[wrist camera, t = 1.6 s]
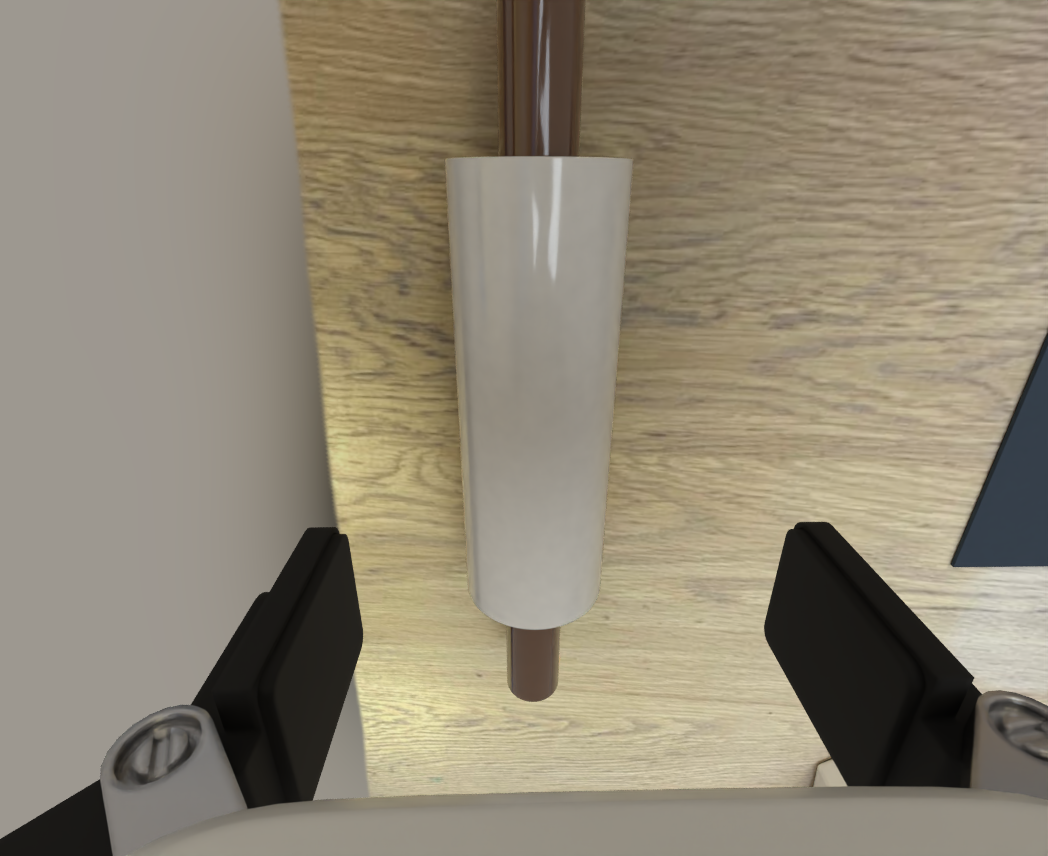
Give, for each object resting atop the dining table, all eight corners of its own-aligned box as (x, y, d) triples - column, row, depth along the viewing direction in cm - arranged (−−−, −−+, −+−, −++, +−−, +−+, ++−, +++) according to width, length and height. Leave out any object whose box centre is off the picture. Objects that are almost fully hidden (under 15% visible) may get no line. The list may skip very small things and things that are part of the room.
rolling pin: (592, 640, 28) (591, 743, 23) (485, 629, 28) (460, 727, 23) (646, -68, 16) (668, -181, 11) (458, -59, 16) (397, -162, 11)
